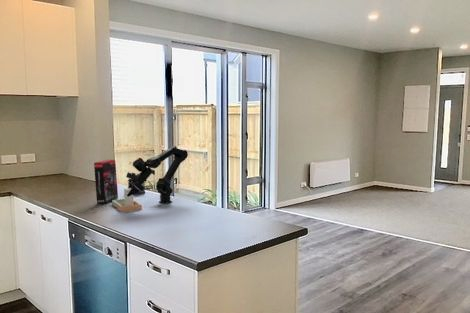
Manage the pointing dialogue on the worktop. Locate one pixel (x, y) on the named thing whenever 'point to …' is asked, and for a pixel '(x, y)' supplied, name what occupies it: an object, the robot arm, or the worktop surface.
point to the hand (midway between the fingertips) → (126, 195)
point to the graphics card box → (105, 181)
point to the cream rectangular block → (128, 199)
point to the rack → (121, 206)
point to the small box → (143, 190)
